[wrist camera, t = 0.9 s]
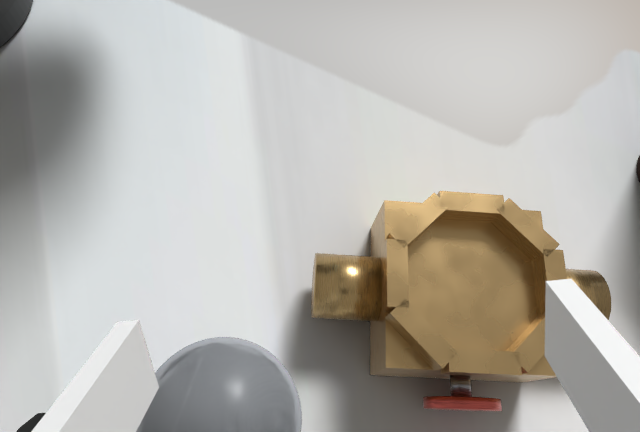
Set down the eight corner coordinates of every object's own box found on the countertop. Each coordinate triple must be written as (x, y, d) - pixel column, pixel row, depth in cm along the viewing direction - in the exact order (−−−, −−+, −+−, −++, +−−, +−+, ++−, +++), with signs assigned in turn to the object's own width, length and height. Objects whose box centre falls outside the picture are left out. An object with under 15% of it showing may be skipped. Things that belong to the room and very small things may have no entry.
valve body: (314, 222, 36) (322, 182, 30) (560, 238, 37) (615, 203, 31) (306, 403, 32) (313, 400, 26) (586, 416, 33) (656, 415, 27)
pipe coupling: (193, 363, 32) (149, 333, 21) (295, 368, 32) (305, 341, 21) (178, 477, 30) (121, 511, 19) (288, 481, 30) (297, 516, 19)
